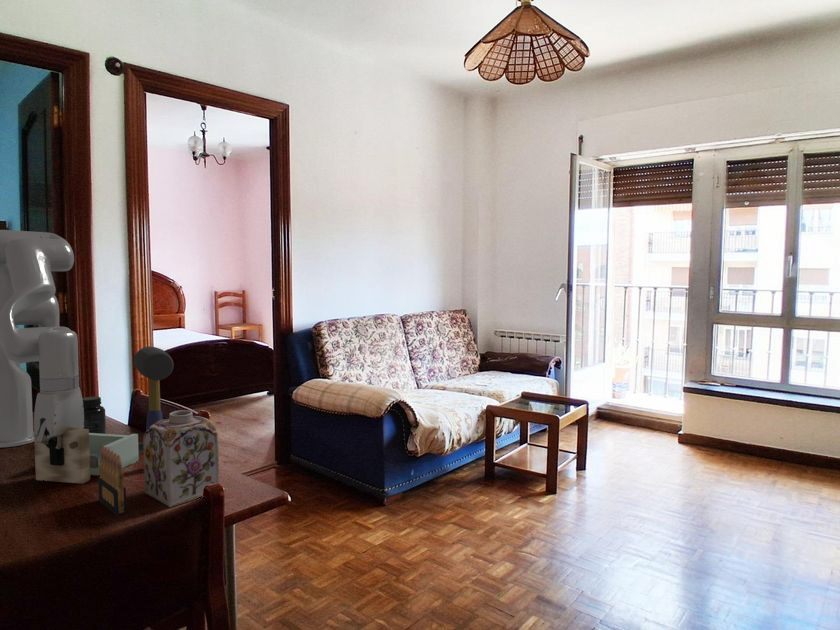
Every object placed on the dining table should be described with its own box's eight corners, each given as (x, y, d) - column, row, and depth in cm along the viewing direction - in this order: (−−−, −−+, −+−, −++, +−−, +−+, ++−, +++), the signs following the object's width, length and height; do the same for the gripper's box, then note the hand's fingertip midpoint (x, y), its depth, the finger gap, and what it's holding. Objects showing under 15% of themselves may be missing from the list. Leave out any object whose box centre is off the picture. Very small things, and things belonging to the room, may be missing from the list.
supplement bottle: (83, 436, 162) (82, 396, 161) (109, 435, 164) (108, 395, 163) (74, 443, 155) (73, 401, 154) (101, 442, 157) (100, 400, 156)
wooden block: (32, 481, 127) (30, 430, 126) (44, 476, 131) (42, 426, 130) (79, 485, 126) (77, 433, 125) (90, 479, 129) (88, 429, 128)
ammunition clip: (98, 500, 118) (96, 445, 117) (108, 498, 119) (106, 443, 118) (116, 515, 110) (115, 456, 109) (126, 513, 112) (125, 454, 111)
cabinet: (44, 471, 134) (43, 443, 133) (79, 456, 145) (78, 430, 144) (108, 476, 131) (107, 447, 131) (138, 460, 142) (138, 434, 142)
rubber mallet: (178, 472, 134) (175, 349, 132) (144, 478, 130) (141, 351, 128) (166, 458, 144) (163, 343, 142) (134, 463, 140) (131, 345, 138)
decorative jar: (194, 479, 130) (192, 403, 129) (221, 491, 123) (220, 412, 122) (142, 494, 121) (140, 413, 120) (168, 509, 114) (166, 422, 112)
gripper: (72, 377, 135) (74, 450, 137) (14, 390, 120) (18, 474, 121) (99, 378, 134) (102, 452, 136) (45, 392, 118) (48, 476, 120)
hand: (62, 462), depth 128 cm, fingers closed on wooden block, 2 cm apart
